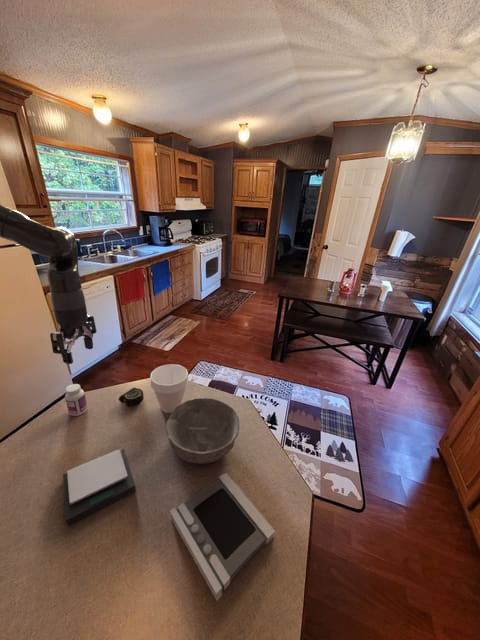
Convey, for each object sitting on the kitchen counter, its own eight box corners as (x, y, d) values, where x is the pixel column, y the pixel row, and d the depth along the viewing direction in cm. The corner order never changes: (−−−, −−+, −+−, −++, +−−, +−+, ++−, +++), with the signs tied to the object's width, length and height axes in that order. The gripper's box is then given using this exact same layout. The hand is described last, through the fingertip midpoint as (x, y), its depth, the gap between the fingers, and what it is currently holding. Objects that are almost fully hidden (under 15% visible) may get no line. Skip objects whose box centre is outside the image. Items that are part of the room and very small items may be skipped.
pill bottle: (85, 402, 88) (80, 380, 84) (90, 411, 85) (85, 388, 81) (66, 410, 84) (61, 386, 81) (71, 419, 81) (65, 395, 77)
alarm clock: (169, 511, 56) (227, 464, 65) (171, 522, 58) (227, 476, 68) (216, 593, 44) (277, 522, 54) (217, 604, 46) (275, 534, 56)
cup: (195, 401, 93) (195, 370, 87) (174, 424, 82) (172, 390, 77) (168, 390, 97) (166, 360, 92) (144, 411, 87) (141, 378, 81)
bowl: (251, 457, 73) (254, 431, 69) (185, 496, 62) (184, 468, 58) (215, 412, 89) (216, 389, 85) (157, 437, 77) (155, 411, 73)
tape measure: (135, 393, 94) (134, 384, 93) (148, 400, 92) (147, 391, 90) (119, 403, 89) (117, 395, 87) (132, 411, 86) (131, 402, 85)
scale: (68, 527, 54) (64, 516, 53) (64, 480, 63) (61, 471, 62) (135, 491, 62) (134, 482, 61) (124, 455, 71) (123, 445, 70)
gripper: (75, 295, 76) (84, 342, 82) (34, 312, 63) (48, 366, 69) (99, 298, 75) (106, 345, 82) (62, 315, 62) (73, 370, 69)
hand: (79, 355), depth 75 cm, fingers open, 8 cm apart
